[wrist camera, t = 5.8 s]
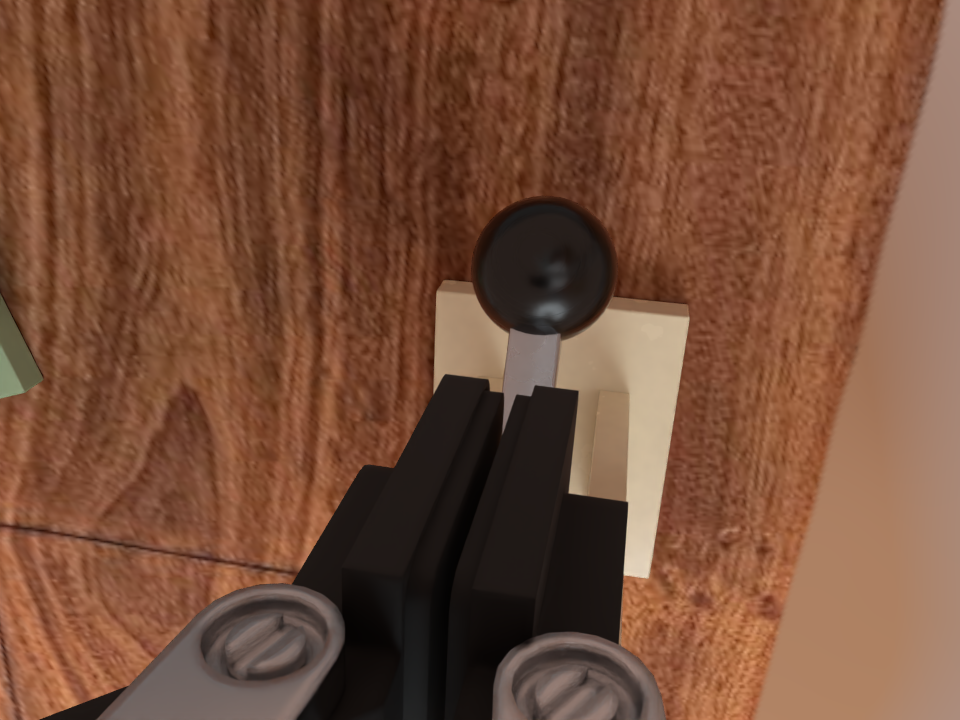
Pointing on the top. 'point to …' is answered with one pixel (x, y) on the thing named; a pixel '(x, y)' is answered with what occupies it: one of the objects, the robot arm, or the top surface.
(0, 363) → the button box
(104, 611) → the top surface
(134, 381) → the top surface
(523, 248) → the lever
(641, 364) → the switch bracket
